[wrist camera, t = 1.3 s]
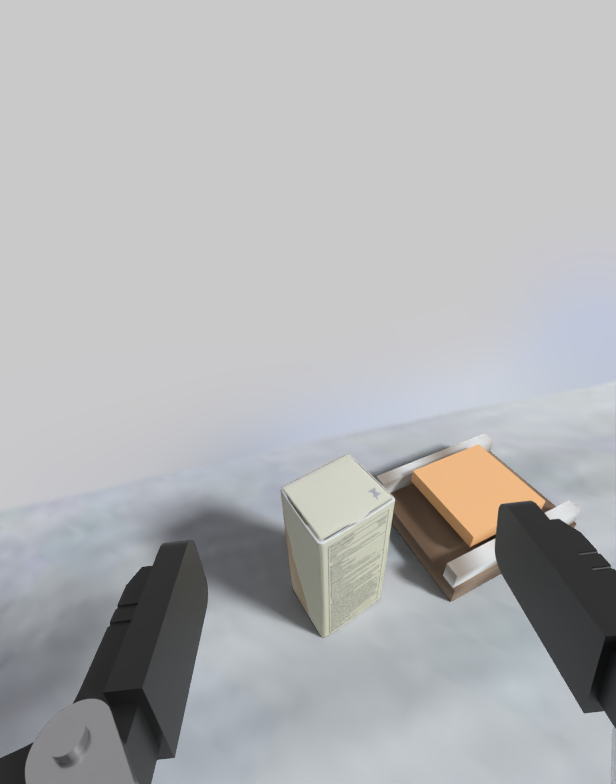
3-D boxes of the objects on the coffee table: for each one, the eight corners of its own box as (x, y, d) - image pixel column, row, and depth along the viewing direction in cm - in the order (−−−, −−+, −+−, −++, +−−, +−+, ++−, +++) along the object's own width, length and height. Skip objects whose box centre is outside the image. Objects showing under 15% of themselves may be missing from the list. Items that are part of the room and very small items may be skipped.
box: (346, 552, 31) (353, 449, 24) (382, 599, 28) (401, 496, 22) (287, 588, 29) (277, 485, 22) (320, 643, 26) (319, 544, 19)
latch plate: (469, 547, 28) (473, 537, 28) (410, 480, 33) (412, 470, 33) (540, 511, 31) (545, 501, 30) (475, 454, 36) (478, 444, 35)
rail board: (450, 601, 28) (459, 578, 26) (372, 497, 35) (375, 474, 33) (569, 535, 32) (584, 511, 30) (476, 454, 39) (484, 431, 37)
